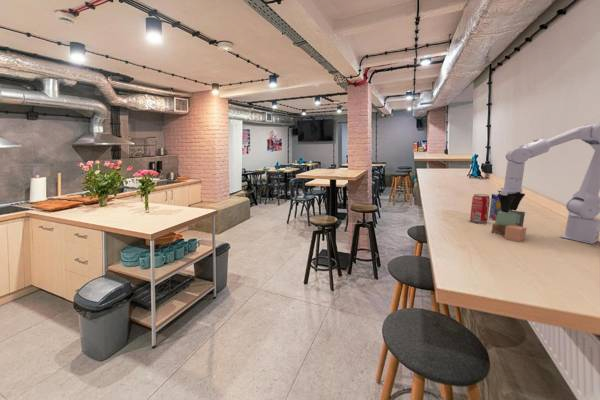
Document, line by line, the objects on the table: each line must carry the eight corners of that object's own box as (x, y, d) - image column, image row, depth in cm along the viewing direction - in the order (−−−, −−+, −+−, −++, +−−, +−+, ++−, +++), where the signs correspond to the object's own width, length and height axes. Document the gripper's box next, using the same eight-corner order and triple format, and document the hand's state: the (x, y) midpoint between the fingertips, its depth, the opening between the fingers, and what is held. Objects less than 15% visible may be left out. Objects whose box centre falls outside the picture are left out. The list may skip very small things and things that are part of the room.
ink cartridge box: (487, 217, 148) (491, 189, 145) (499, 217, 147) (503, 189, 145) (498, 222, 138) (503, 192, 135) (511, 222, 138) (515, 192, 135)
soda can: (487, 224, 135) (491, 196, 132) (469, 222, 138) (472, 195, 136) (487, 221, 141) (490, 194, 138) (469, 218, 144) (473, 193, 142)
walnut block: (516, 233, 122) (517, 224, 121) (511, 237, 117) (512, 227, 116) (496, 229, 127) (498, 221, 126) (491, 232, 122) (492, 223, 122)
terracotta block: (524, 240, 113) (526, 227, 112) (518, 242, 110) (520, 229, 109) (509, 236, 117) (511, 224, 116) (504, 238, 114) (505, 226, 113)
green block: (515, 224, 121) (516, 212, 120) (509, 226, 118) (511, 214, 117) (501, 221, 125) (503, 210, 124) (496, 223, 122) (497, 211, 121)
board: (500, 224, 134) (503, 208, 133) (522, 227, 129) (525, 211, 128) (499, 226, 131) (502, 210, 129) (522, 230, 126) (524, 213, 124)
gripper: (510, 176, 125) (506, 207, 127) (494, 178, 117) (490, 211, 119) (530, 177, 119) (525, 210, 121) (514, 180, 111) (509, 214, 114)
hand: (509, 211), depth 120 cm, fingers open, 7 cm apart
